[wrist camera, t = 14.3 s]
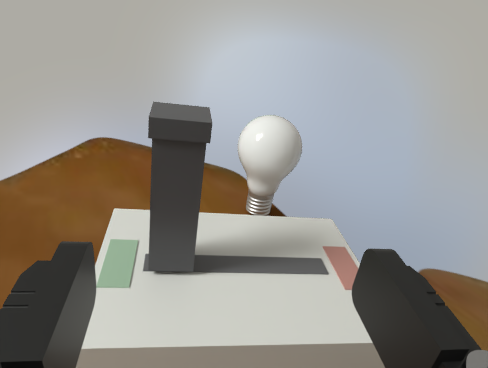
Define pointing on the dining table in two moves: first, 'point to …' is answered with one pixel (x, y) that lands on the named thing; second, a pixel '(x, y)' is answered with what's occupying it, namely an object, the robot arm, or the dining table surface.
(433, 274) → the dining table surface
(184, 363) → the breaker panel
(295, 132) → the lightbulb
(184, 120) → the handle
